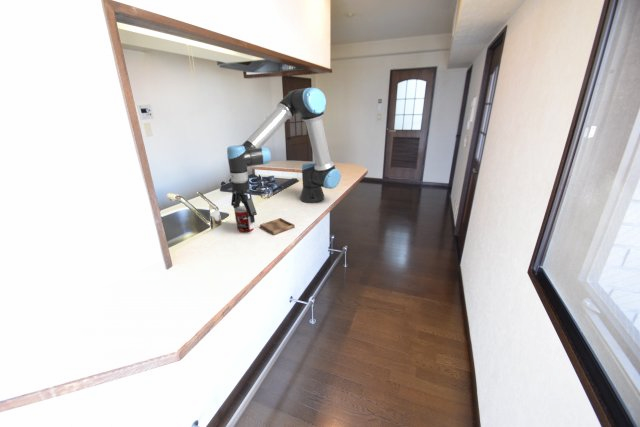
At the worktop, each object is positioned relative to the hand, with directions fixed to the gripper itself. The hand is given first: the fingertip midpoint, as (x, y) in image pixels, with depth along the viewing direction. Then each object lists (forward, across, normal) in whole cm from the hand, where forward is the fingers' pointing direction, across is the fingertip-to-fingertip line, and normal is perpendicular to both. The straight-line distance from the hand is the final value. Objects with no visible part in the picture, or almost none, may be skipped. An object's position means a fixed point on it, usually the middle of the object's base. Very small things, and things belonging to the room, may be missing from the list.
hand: (245, 224), depth 130 cm
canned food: (+3, 0, 0) cm, 3 cm away
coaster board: (+3, +9, +12) cm, 15 cm away
